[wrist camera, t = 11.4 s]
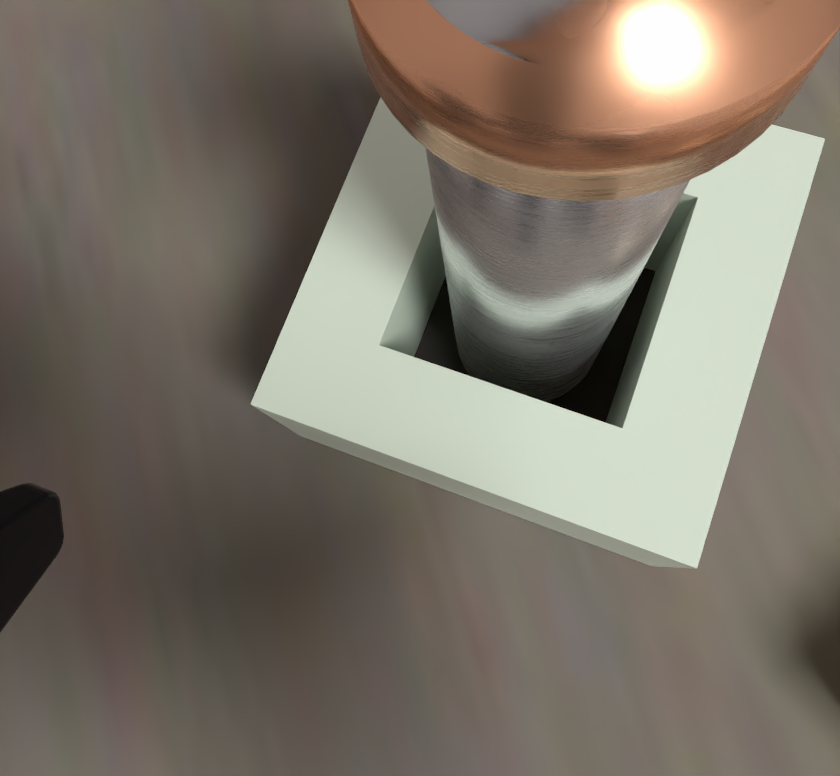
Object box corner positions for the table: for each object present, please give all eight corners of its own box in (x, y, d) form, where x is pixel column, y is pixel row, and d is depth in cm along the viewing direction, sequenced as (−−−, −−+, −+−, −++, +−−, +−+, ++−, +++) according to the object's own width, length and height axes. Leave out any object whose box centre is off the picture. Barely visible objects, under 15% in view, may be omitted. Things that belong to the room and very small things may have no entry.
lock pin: (506, 460, 18) (542, 240, 6) (401, 315, 19) (233, -145, 7) (658, 353, 18) (1020, -88, 6) (546, 215, 20) (647, -408, 7)
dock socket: (650, 566, 17) (697, 568, 14) (300, 435, 19) (250, 404, 15) (756, 224, 19) (824, 138, 15) (425, 128, 20) (409, 28, 17)
